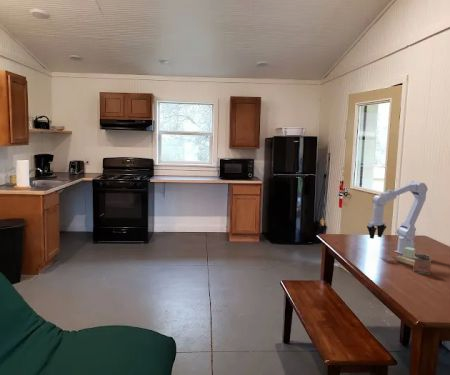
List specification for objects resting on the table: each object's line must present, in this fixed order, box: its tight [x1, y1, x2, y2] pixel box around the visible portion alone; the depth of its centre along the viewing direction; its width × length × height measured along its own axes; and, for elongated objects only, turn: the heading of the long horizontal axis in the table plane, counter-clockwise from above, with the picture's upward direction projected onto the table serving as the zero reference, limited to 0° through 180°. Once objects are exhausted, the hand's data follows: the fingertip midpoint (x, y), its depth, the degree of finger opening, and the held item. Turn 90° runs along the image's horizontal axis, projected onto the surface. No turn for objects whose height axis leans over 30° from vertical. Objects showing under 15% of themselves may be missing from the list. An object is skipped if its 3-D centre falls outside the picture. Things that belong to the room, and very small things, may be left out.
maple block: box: [395, 254, 416, 267], centre depth 220 cm, size 10×10×3 cm
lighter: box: [412, 252, 433, 275], centre depth 201 cm, size 8×3×10 cm, turn 71°
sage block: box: [403, 247, 416, 259], centre depth 220 cm, size 4×4×5 cm
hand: (375, 237), depth 233 cm, fingers open, 7 cm apart
